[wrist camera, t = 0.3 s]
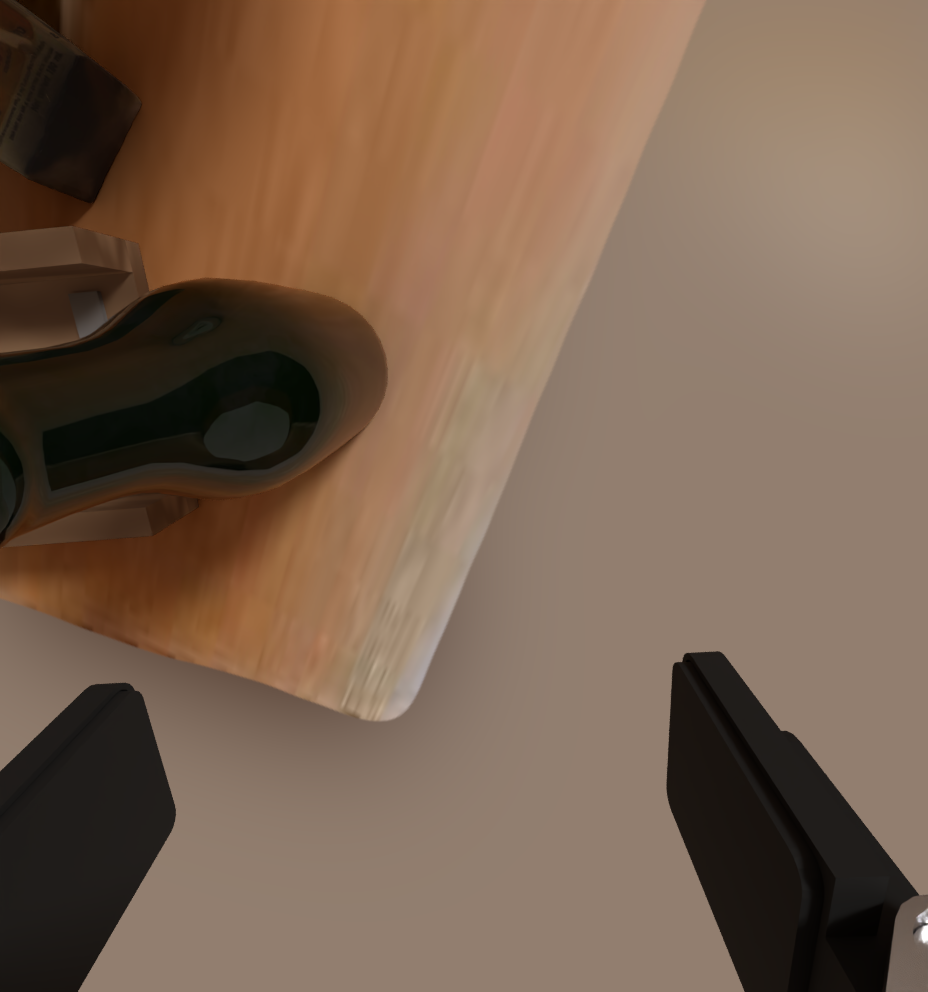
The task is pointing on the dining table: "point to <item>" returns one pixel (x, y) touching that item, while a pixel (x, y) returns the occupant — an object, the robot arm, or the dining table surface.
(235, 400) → the beer bottle
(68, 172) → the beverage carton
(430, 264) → the dining table surface
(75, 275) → the cradle
